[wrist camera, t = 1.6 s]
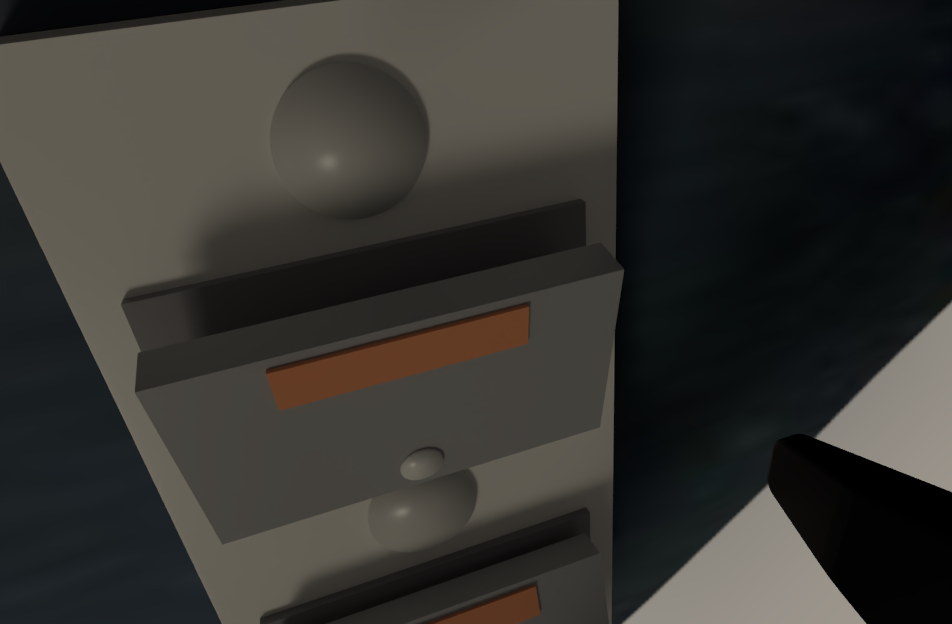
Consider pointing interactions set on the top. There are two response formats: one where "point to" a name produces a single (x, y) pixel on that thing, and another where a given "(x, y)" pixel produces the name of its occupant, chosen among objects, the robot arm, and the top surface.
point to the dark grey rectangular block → (509, 592)
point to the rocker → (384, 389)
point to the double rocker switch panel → (323, 235)
